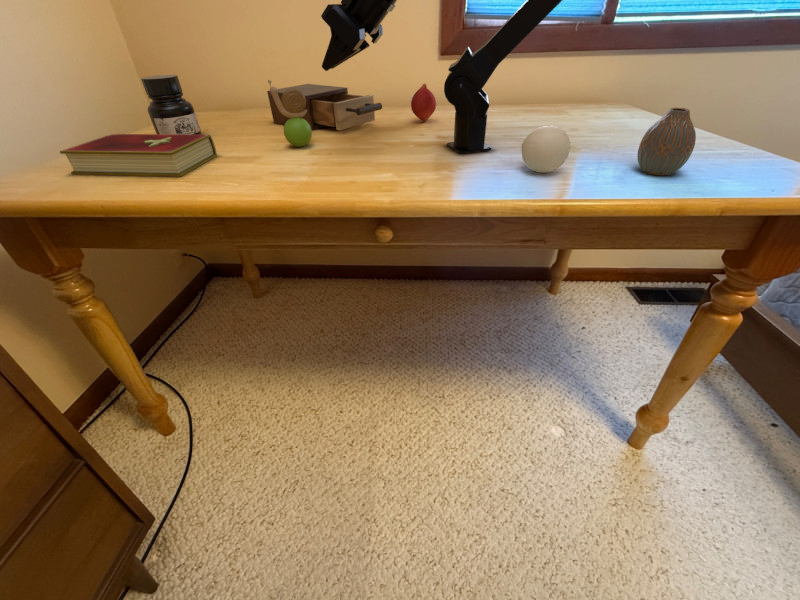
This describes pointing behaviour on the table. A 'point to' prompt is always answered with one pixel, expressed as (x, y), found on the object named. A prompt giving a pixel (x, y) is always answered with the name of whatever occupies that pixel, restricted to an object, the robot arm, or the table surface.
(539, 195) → the table surface
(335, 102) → the drawer
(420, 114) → the onion
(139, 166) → the hardcover book
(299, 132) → the snail figurine
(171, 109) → the ink bottle
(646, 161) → the vase
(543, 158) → the beige round ball
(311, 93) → the cabinet
